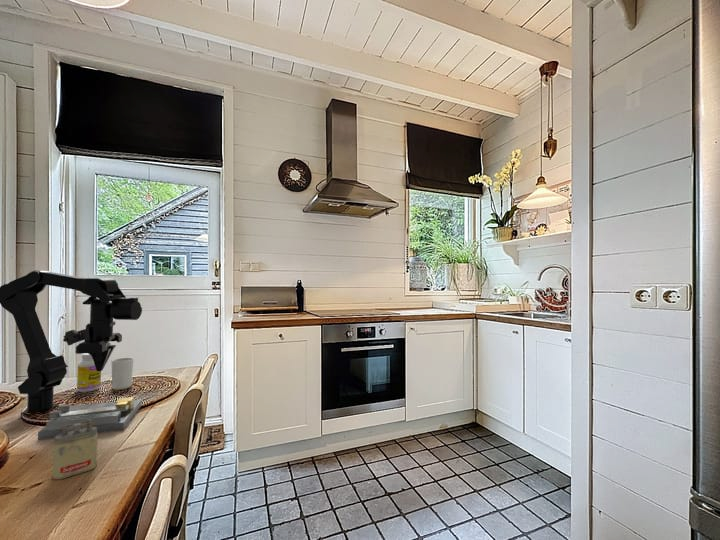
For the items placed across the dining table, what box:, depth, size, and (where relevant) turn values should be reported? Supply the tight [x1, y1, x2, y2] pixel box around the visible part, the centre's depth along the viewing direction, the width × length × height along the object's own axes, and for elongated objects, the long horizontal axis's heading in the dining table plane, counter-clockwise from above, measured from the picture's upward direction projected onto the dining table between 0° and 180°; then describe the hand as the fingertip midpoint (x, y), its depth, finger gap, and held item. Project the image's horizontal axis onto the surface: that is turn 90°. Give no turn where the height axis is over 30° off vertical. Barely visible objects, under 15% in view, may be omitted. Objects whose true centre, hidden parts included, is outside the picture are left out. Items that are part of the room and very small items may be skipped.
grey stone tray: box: [37, 398, 143, 441], centre depth 95 cm, size 18×18×5 cm
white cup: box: [111, 356, 135, 390], centre depth 125 cm, size 7×7×10 cm
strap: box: [61, 404, 129, 418], centre depth 93 cm, size 16×3×1 cm, turn 110°
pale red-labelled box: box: [51, 419, 98, 480], centre depth 71 cm, size 7×4×10 cm, turn 134°
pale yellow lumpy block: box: [115, 396, 135, 410], centre depth 98 cm, size 6×4×3 cm, turn 20°
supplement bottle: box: [76, 353, 102, 393], centre depth 121 cm, size 7×7×13 cm
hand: (99, 370), depth 103 cm, fingers closed
